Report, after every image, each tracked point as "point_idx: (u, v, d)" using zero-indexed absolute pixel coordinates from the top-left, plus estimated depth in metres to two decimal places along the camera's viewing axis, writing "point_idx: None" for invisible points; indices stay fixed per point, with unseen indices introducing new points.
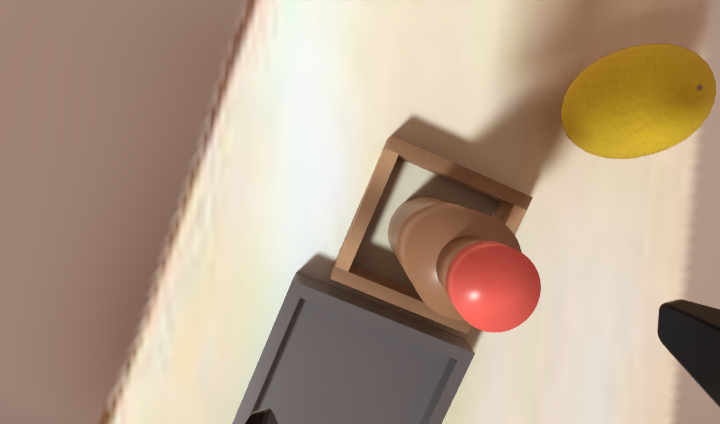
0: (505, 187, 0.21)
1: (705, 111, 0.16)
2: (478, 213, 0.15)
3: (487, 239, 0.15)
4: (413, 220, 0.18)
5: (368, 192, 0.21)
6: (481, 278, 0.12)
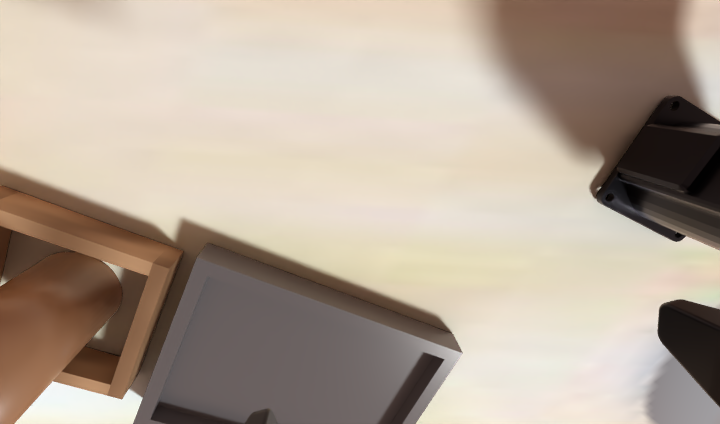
0: None
1: None
2: None
3: None
4: None
5: None
6: None
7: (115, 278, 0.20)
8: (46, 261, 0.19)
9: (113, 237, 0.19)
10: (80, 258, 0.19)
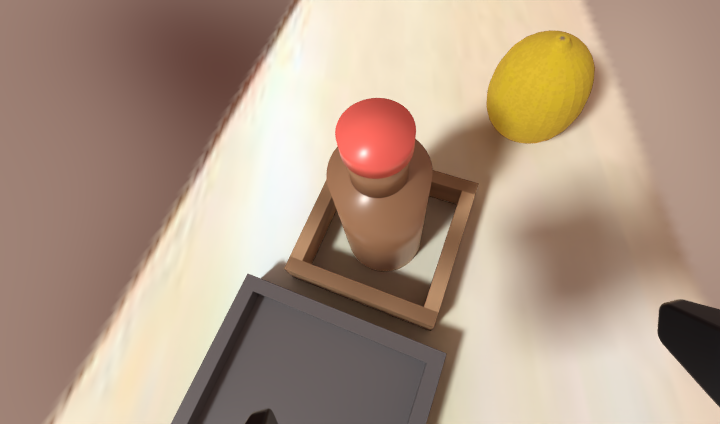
0: (450, 177, 0.23)
1: (582, 59, 0.19)
2: None
3: None
4: None
5: (323, 188, 0.23)
6: (359, 122, 0.13)
7: (398, 268, 0.23)
8: None
9: None
10: (419, 244, 0.23)
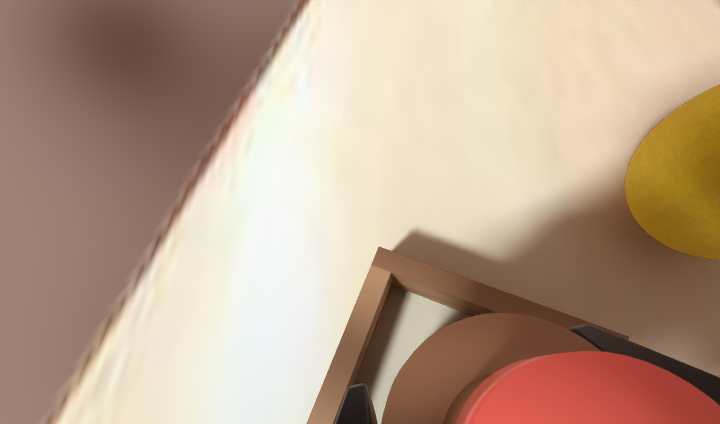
0: (574, 320, 0.13)
1: None
2: (520, 318, 0.07)
3: None
4: None
5: (345, 333, 0.13)
6: None
7: None
8: None
9: None
10: None
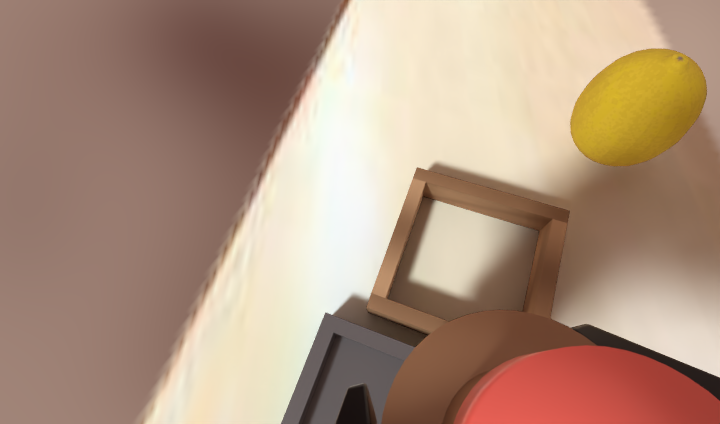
0: (538, 203, 0.21)
1: (699, 81, 0.17)
2: (519, 315, 0.07)
3: None
4: None
5: (400, 217, 0.22)
6: None
7: None
8: None
9: None
10: None
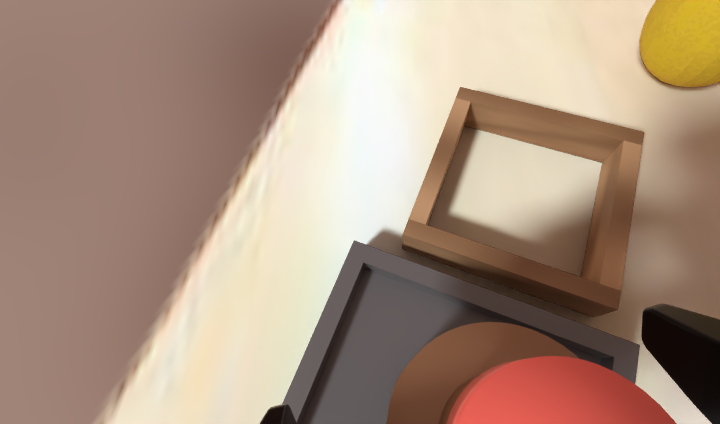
0: (605, 124, 0.18)
1: None
2: (507, 326, 0.08)
3: None
4: (406, 366, 0.10)
5: (441, 138, 0.19)
6: None
7: None
8: None
9: None
10: None
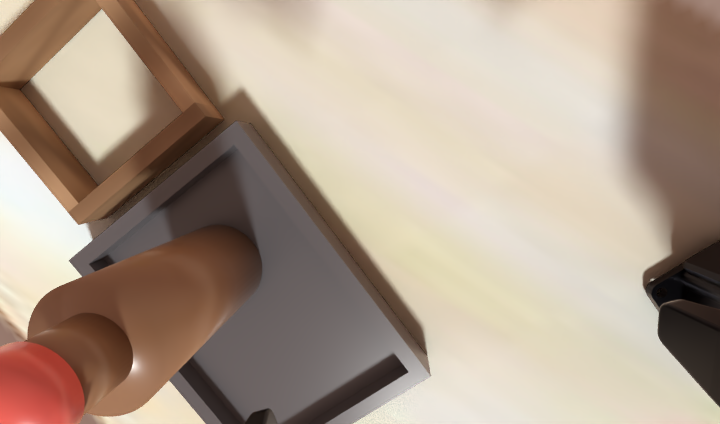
0: None
1: None
2: (39, 306, 0.12)
3: (71, 313, 0.11)
4: None
5: (6, 136, 0.19)
6: None
7: (260, 276, 0.20)
8: (222, 231, 0.18)
9: (174, 65, 0.18)
10: (247, 243, 0.19)
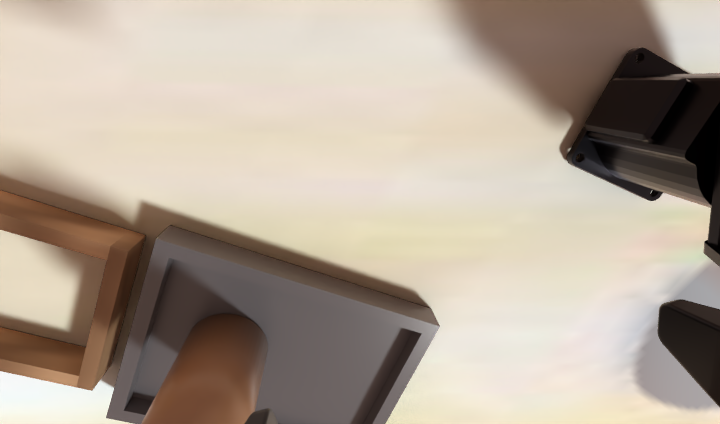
0: None
1: None
2: None
3: None
4: None
5: None
6: None
7: (263, 334, 0.21)
8: (208, 327, 0.20)
9: (69, 222, 0.18)
10: (234, 320, 0.20)
